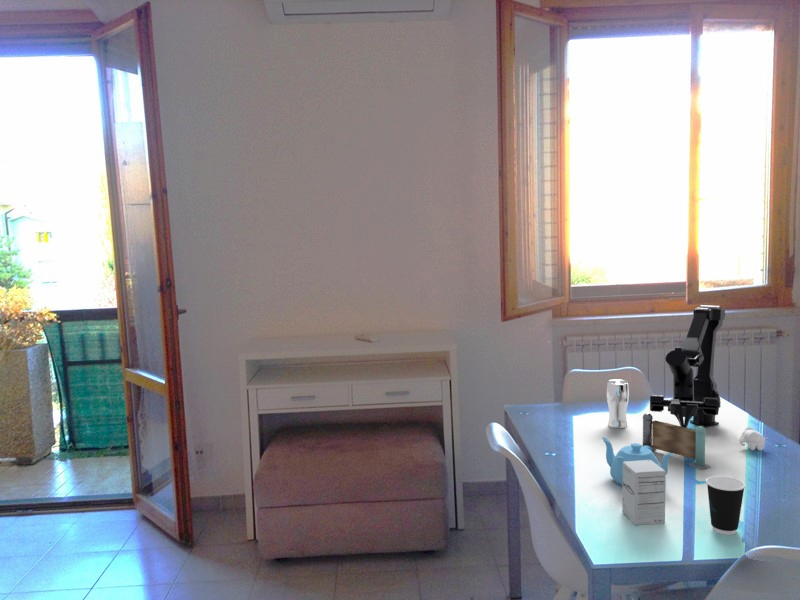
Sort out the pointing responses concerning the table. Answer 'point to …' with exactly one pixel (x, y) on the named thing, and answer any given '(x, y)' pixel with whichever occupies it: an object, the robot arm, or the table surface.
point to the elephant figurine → (752, 439)
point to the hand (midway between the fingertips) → (684, 430)
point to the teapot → (630, 458)
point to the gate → (674, 439)
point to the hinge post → (647, 430)
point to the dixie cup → (725, 503)
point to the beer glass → (617, 403)
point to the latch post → (700, 449)
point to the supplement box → (643, 492)
